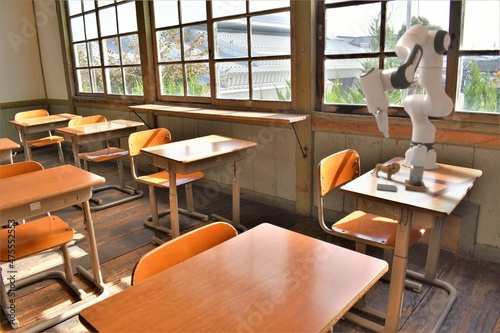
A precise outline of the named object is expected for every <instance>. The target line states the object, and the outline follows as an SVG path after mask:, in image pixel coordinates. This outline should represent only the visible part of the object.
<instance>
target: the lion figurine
mask: <svg viewBox="0 0 500 333" xmlns="http://www.w3.org/2000/svg"><path fill="white" fill-rule="evenodd" d="M400 170H401V163H399V162H397V161H396V162H391V163H389V164H386V165H384V164H383V163H377V164H376V166H375V168H374V171H373V172H370V175H374V173H375V177H376V178H378V179H379V178H380V176H379V172H381V173H383V174H386V180H387V181H388V182H390V181H391V180H393V177H392V175H393V176H394V175H395V174H397V173H399V172H400Z"/></svg>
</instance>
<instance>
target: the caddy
mask: <svg viewBox="0 0 500 333" xmlns="http://www.w3.org/2000/svg"><path fill="white" fill-rule="evenodd" d="M426 188H427V187H426V185H425V181H424V180H422V186H412V185H409V179H405V180H404V190H405V191H411V192H420V193H426Z"/></svg>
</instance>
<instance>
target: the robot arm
mask: <svg viewBox="0 0 500 333" xmlns="http://www.w3.org/2000/svg"><path fill="white" fill-rule="evenodd" d="M450 45H451V35H450V33H449V32H448V30H444V29H430V30H429V29H428V28H427V27H426V26H425V25H423V24H419V23H417V24H413V25H411V26H409V28H407V30H406V31H405V32H404V33H403V34H402V35H401V36H400V38H399V39H398V40H397V42H396V44H395V46H394V52H395V55H396V56H397V57H398V59H400V60H401V61H403V63H402V64H400V65H398V66H397V65H396V66H393V67H390V68H384V69H379V68H376V67H374V66H373V67H368V68H367V69H365V70H363V71H362V72H361V73H359V76H358V77H359V78H358V79H359V80H358V81H359V86H360V88H361V92H362V94H363V96H364V98H365V103H366V108H367V111H368V113H369V114H372V115H373V116H374V117H375V120H376V124H377V127H378V131H379V132H382V134H383V136H384V138H385V139H389V138H390V134H389V131H390V129H389V118H388V108H390V104H389V99H388V95H387V94H386V92H391V91H397V90H398V91H399V90H407V89H408V88H410V87H411V85H412V84H413V83H414V79H415V76H416V75H415V74H416V72H417V70H418V76H417V77H418V78H417V83H418V84H419V86H421V87H422V88H423V89H424V91H425V93H413V94H409V95H407V96H406V97H405V99H404V101H403V109H404V111H405V112H406V113H407V114H408V115H409V117H410V119H411V123H412V135H411V140H410V145H409V146H410V147H409V149H408V150H406V152H405V155H404V156H405V157H404V159H403V161H402V162H401V163H400V166H404V167H407V168H410V169H411V157H412V149H413V146H418V145H423V147H427V154H426V161H425V166H424V171H425V170H429V171H430V170H434V169H436V170H437V169H439V168H440V167H439V165H438V164H436V163H437V152H436V151H435V150H434V149H435V145H436V144H435V143H436V142H435V138H436V137H435V136H436V132H437V131H436V130H437V128H436V126H435V125H434V124H433V123H432V122H431V121H430V120H429V117H436V118H441V117H443V118H444V117H447V116H449V115H450V114H451V113H452V112H453V109H454V102H453V99H452V98H451V97H449V95H448V94H447V93H446V91H445V89H444V86H443V67H444V53H445V52H446V51H447V50H448V49H449V48H450Z"/></svg>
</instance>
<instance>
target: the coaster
mask: <svg viewBox="0 0 500 333" xmlns="http://www.w3.org/2000/svg"><path fill="white" fill-rule="evenodd" d="M376 191H383V192H390V193H391V192H392V193H396V192H397V186H396V185H393V184H384V183H377V184H376Z"/></svg>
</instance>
